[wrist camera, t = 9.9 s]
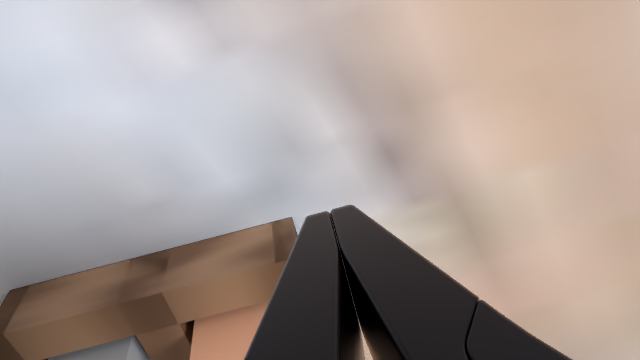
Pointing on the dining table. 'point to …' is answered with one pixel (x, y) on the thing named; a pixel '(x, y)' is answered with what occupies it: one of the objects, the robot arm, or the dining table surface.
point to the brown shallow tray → (146, 296)
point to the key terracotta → (226, 333)
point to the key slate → (109, 351)
